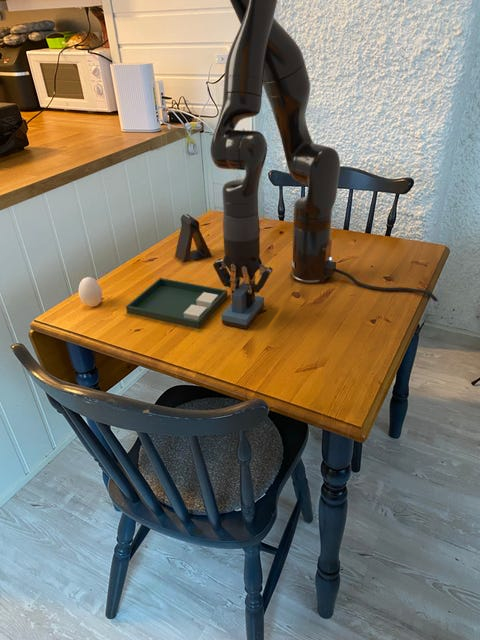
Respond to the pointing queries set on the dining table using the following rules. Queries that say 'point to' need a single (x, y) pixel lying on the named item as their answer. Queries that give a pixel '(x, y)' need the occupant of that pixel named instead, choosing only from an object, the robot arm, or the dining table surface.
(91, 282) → the egg
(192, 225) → the dark grey a-frame stand
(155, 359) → the dining table surface
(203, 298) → the beige square tile
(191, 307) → the cream slab tile
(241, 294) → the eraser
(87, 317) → the dining table surface
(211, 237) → the dining table surface
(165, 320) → the tray
